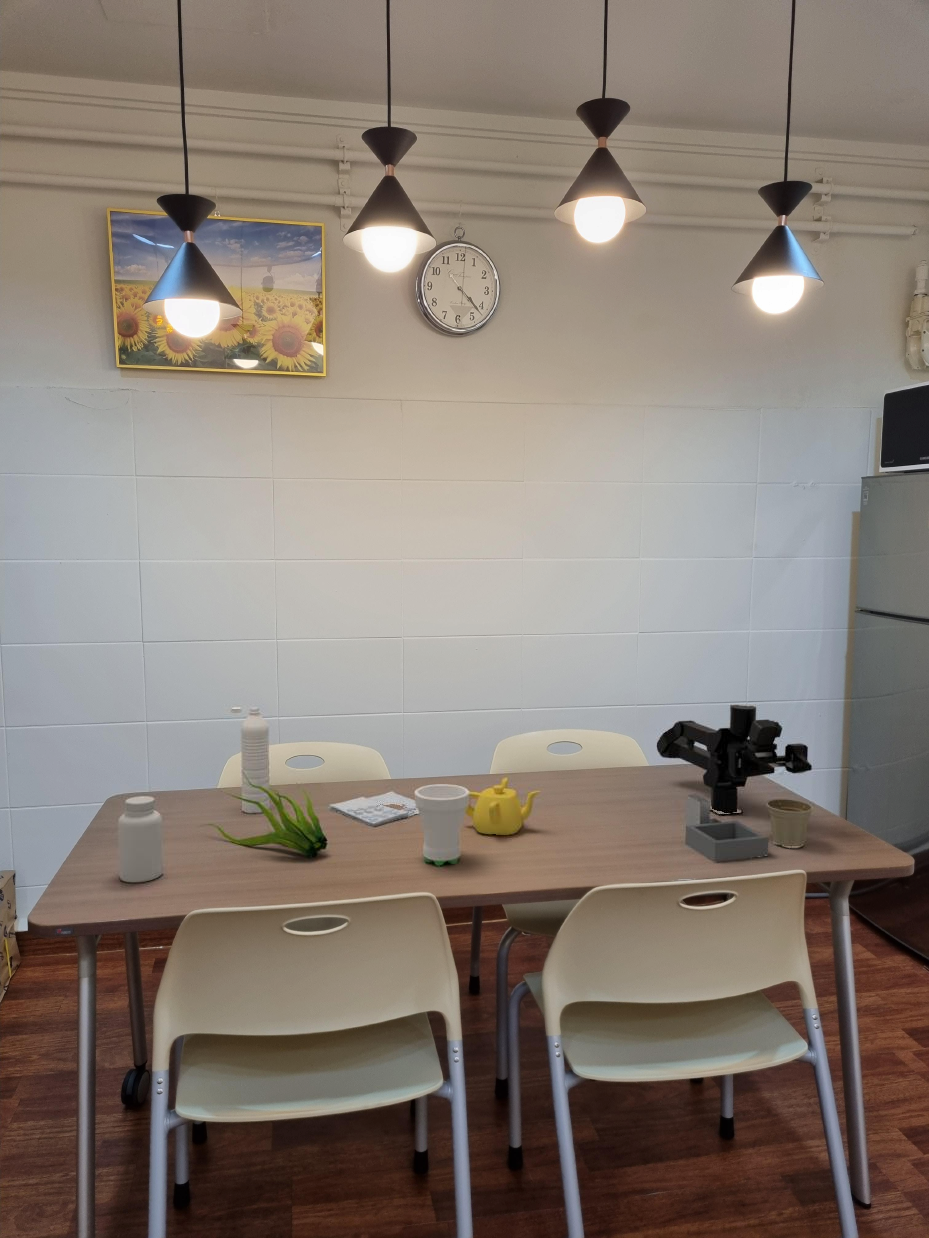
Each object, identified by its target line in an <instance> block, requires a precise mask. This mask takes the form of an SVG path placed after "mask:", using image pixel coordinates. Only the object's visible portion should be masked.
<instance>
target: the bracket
mask: <svg viewBox="0 0 929 1238" xmlns="http://www.w3.org/2000/svg"><path fill="white" fill-rule="evenodd" d="M710 805H711V800H708V799H706V798H704V797H702V796H700V795H698V794H686V795H685V825H684V826H685V828H686V826H688V825H698V824H709V823H720V822H721V820H718V819H716V818H715V817H714V818H710V817H711V811H710ZM685 828H684V829H685Z"/></svg>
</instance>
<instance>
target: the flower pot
mask: <svg viewBox="0 0 929 1238" xmlns="http://www.w3.org/2000/svg"><path fill="white" fill-rule="evenodd" d="M765 806H766V807H767V810H768V812H769V817H770V825H771V826H770V827H771V833H772V841H774V842H775V843H777V844H779V846H780V845H784V846H791V847H792V846H801V845H803V844H804V845H805V842H806V836H807V829H808V824H809V818H810V816H811V814H812V811H813V810H814V806H813V805H812V804H810V803H808V802H806V801H803V800H798V799H790V798H775V799H774V798H773V799H770V800H767V801H766V803H765ZM774 842H773V843H774Z"/></svg>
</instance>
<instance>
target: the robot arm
mask: <svg viewBox="0 0 929 1238" xmlns="http://www.w3.org/2000/svg"><path fill="white" fill-rule="evenodd" d="M729 712H730V715H729V716H730V717H729V719H730V720H729V727H721V728H718V729H713V728H711V727H708V726H706V725H703V724H700V723H697V722H696V721H694V720H691V719H690V720H678V721H676V722H675V723H674V724H673V725H672V727H671V728H669V729H667V730H666V731H665V732H663V733H662V734H661V735H660V736H659V738H658V740H657V742H656V751H657V752H658V754H659V755H660V756H661V757H662V758H665V759H681V760H683V761H685V762H687V763H690V764H691V765H693V766H696V767H698V768H700V769H702V770H705V771H706V772H705V773H704V774H703V775H702V781H703V785H704V786H706V787H708V788H710V789H711V790H710V795H711V796H710V805H711V806H712V809H714V810H717V811H722V812H724V813H733V812H737V809H738V798H739V797H738V788H741V787H742V788H745V787H746V784H747V780H748V778H753V777H759V776H764V775H771V774H775V771H776V770H775V768H781V767H783V768H785V770H786V772H788V773H791V774H804V773H805V772H809V771H812V769H813V766H812V764H811V763H810V762H809V761H808V759H809V757H808V756H809V753H808V752H809V748H808V746H807V745H806V744H803V743H788V744H787V745H786V746H785V747H784V754H783V755H778V754H777V752H776V750H778V744H777V743H774V742H775V741H776V738H780V737H781V734H782V731H783V726H782V725H780V724H779V722H778V721H775V720H770V719H757V707H756V706H753V705H739V704H732V705H730V706H729ZM696 743H698V744H699V745H700V744H701V745H703V746H705V747H706V749H704V748H702V747H699V746H697V745H695V744H696Z"/></svg>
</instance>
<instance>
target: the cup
mask: <svg viewBox="0 0 929 1238" xmlns="http://www.w3.org/2000/svg"><path fill="white" fill-rule="evenodd" d="M469 791H470V790H469V789H467V788H466V787H464V786H461V785H456V784H446V783H445V784H443V783H440V784H439V783H437V784H427V785H423V786H421V787H419V788H417V789H415V791H414V800H415V805H416V806H417V808H418V810H419V813H420V814H419V815H420V819H421V822H422V828H423V837H424V838H423V839H424V843H423V846H422V851H423V852H422V853H423V854H422V855H423V859H424V862H425V863H432V862H434V864H435V866H438V867H440V865H441V866H442V865H444V863H446V862H447V863H449V864H451V865H455V864H456V863H457V862H458V860H459V859H460V856H461V853H462V850H461V849H462V847H461V846H462V845H461V843H460V837H461V836H460V834H461V829H462V828H461V827H462V823H463V820H464V816H465V814H466V813H465V811H466V808H467V807H468V805H469V795H470V793H469Z"/></svg>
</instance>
